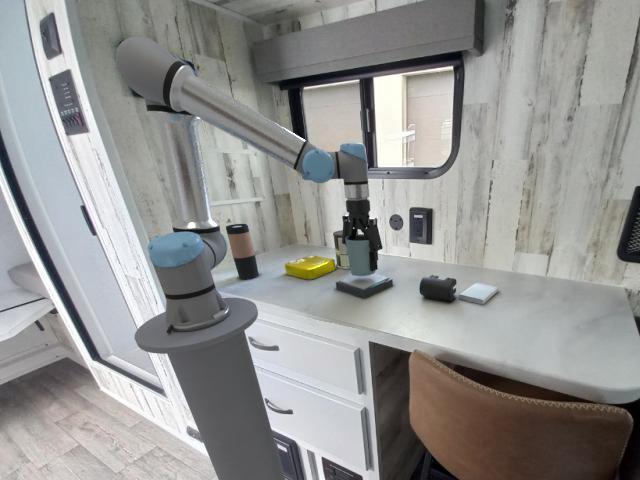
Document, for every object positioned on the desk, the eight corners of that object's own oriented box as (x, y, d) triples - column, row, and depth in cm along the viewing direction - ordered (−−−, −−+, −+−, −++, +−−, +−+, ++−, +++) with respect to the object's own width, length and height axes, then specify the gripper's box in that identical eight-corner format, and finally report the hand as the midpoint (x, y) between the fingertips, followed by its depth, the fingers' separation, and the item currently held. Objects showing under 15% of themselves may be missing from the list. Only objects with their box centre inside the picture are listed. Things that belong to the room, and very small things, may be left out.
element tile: (310, 280, 115) (308, 268, 113) (284, 274, 123) (281, 263, 121) (337, 269, 127) (336, 258, 125) (312, 264, 134) (310, 253, 132)
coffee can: (331, 266, 130) (327, 233, 124) (347, 260, 138) (344, 228, 132) (350, 270, 125) (347, 235, 119) (365, 263, 133) (363, 230, 127)
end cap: (419, 300, 97) (419, 279, 94) (428, 292, 102) (428, 272, 99) (449, 305, 92) (449, 285, 89) (457, 297, 98) (458, 277, 95)
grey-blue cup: (343, 272, 106) (339, 237, 101) (367, 265, 112) (364, 232, 107) (360, 279, 99) (356, 242, 94) (384, 271, 105) (382, 236, 100)
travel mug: (234, 279, 119) (220, 227, 111) (247, 272, 126) (235, 223, 118) (251, 280, 117) (238, 227, 109) (263, 273, 124) (252, 223, 116)
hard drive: (483, 300, 91) (498, 286, 100) (458, 294, 96) (475, 281, 105) (483, 305, 92) (498, 291, 101) (458, 299, 97) (475, 286, 105)
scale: (364, 298, 99) (363, 289, 97) (336, 289, 107) (335, 280, 106) (392, 285, 108) (392, 277, 107) (365, 277, 117) (364, 269, 115)
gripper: (392, 199, 91) (395, 270, 101) (343, 196, 104) (349, 259, 114) (374, 202, 86) (379, 277, 95) (325, 198, 99) (333, 264, 109)
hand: (363, 267), depth 105 cm, fingers closed on grey-blue cup, 9 cm apart
